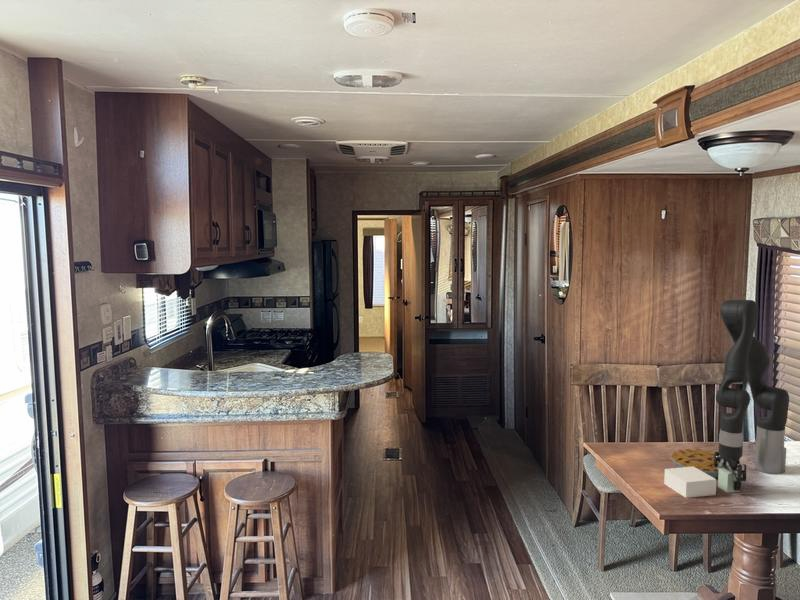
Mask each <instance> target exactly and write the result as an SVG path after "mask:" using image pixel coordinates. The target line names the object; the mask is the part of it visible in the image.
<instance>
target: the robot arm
mask: <svg viewBox="0 0 800 600" xmlns="http://www.w3.org/2000/svg"><path fill="white" fill-rule="evenodd" d="M720 316H721V319H722V321H723V324H724V326H725V328H726V330H727V331H728V333H729V335H730V337H731V339H732V341H733V345H732V347H731V348H730V349H729V350H728V352H727V354H726V356H725V360H724V366H723V367H724V368H723V369H724V370H723V371H724V372H723V376H722V380H721V383H720V385H719V387H718V389H717V392H716V394H715V401H716V403H717V405H718V406H720V407H723V408H727V409H728V408H730V409H736V410H737V411H736V412H735V411H734V412H725V413H722V414H721V416H720V426H719V427H720V429H719V436H718V451H715V452H714V467H716V468H717V470H718V473H719V468H725V469H728V470H729V471H730V474H731V475H733V478H734V486H733V489H734V490H735V491H740V492H741V489H742V482H746V481H747V465H746V464H745V463H743V464H742V463H741V462H740V459H741V458H742V457H743V445H744V431H743V430H744V419H745V416H746V412H747V410H748V408H749V405H750V402H751V397H752V399H753V403H754V404H755V406H756V407H758V408H761V409H763V410H766V411H769V412H770V411H771V413H770V416H761V417H759V418H757V421H756V436H755V437H756V440H755V459H754V468H755V469H756V470H757V471H760V472H762V473H766V474H770V475H771V474H772V475H778V474H782V473H783V472H784V473H785V472H786V463H787V462H786V461H787V448H786V447H785V437H786V436H785V435H786V425H787V422H788V421H787V420H788V414H789V413H788V411H789V408H790V407H789V405H790V395H789V393H788V392H789V391H787V390H786V389H784V388H780V387H774V386H769V385H768V384H767V383H766V382H765V378H764V376H765V375H766V372H768V371H767V370H768V369H769V367H770V363H771V361H770V357H769V353H768V351H767V349H766V347H765V345H764V344H763V342H761V341H760V340H759V339H758V338H757V337H756V336H755V332H756V327H757V323H758V319H759V306H758V303H756V301H754V300H752V299H729V300H728V299H727V300H724V301H723V302H722V303H721V304H720ZM746 379H747V381H748V385H749V389H750V393H751V396H750V393H749V392H748V391H747V390H745V389H740V388H731V387H730V385H732V384H737V383H739V384H742V383H745V382H746ZM717 461H719V463H718V464H717ZM734 471H737V472H734ZM736 474H737V475H738V477H736Z"/></svg>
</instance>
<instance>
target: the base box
mask: <svg viewBox="0 0 800 600" xmlns="http://www.w3.org/2000/svg"><path fill="white" fill-rule="evenodd" d="M663 482H664V483H663V484H664V485H666V486H667V487H669V488H670V489H672V490H673V491H674V492H676V493H678V494H679V495H681V496H682V497H684V498H685V499H690V498H697V497H698V498H699V497H707V496H716V493H717V479H716V478H713V477H711V476H710V475H708V474H706V473H704V472H702V471H701V470H699V469H697V468H695V467H694V466H692V467H682V468H677V467H675V468H674V467H673V468H672V467H671V468H665V469H664V481H663Z"/></svg>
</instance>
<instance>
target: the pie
mask: <svg viewBox="0 0 800 600" xmlns="http://www.w3.org/2000/svg"><path fill="white" fill-rule="evenodd" d="M714 454H715V452H712V451H711V450H710V451H709V450H705V451H704V450H701V449H698V448H695V449H691V448H685V449H684V450H683V449H678V450H677V451H674V452H672V454H671V456H670V459H671V461H673V464H674V466H675V468H682V467H692V466H694V467H695V468H697V469H699V470H701V471H702V472H704V473H706V474H708V475H710V476H711V477H713V478H715V479H716V478H717V479H718V470H717V468H716V467H714ZM718 463H719V461H717V464H718Z"/></svg>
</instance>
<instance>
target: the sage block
mask: <svg viewBox="0 0 800 600" xmlns="http://www.w3.org/2000/svg"><path fill="white" fill-rule="evenodd" d="M734 472H737V470H736V471H734ZM736 477H738V475H737V474H736ZM733 486H734V478H733V475H731V474H730V471H729V470H728V469H725V468H719V473H718V478H717V487H718V488H719V489H721V490H723V492H726V493H728V494H729V493H737V492H738V493H741V490H740V491H735V490H734V489H733Z"/></svg>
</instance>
